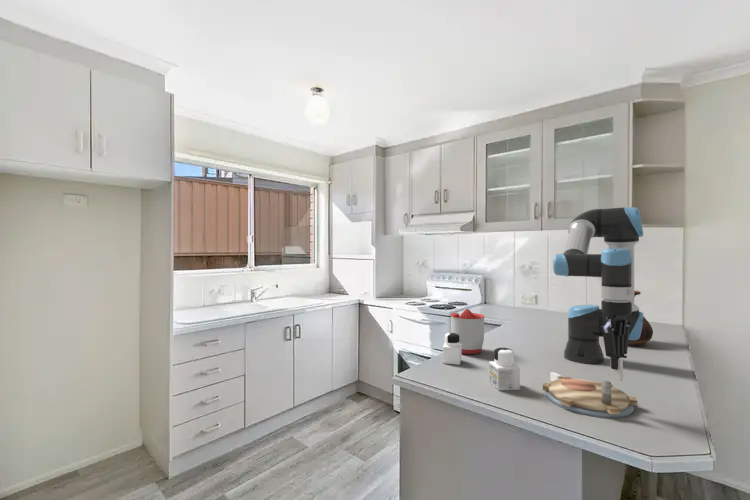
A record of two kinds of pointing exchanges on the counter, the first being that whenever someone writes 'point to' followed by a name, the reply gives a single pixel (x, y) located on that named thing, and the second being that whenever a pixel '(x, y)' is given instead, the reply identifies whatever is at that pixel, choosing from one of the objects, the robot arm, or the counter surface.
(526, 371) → the counter surface
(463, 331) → the citrus juicer
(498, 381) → the container
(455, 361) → the medicine bottle
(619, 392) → the index wheel
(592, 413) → the wheel base
